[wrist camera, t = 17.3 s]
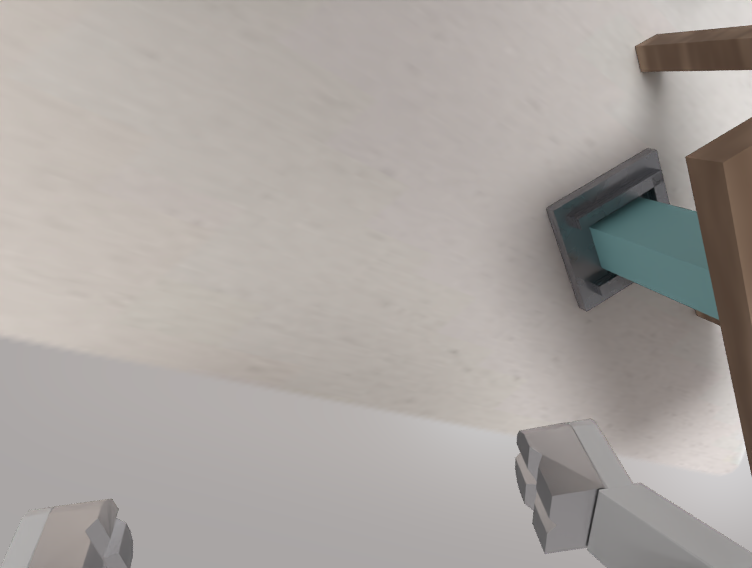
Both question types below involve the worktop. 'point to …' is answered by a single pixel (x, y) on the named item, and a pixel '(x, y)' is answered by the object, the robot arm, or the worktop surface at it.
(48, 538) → the robot arm
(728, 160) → the overhang shelf
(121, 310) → the worktop surface
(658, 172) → the seat cradle
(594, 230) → the teal box
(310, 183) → the worktop surface
